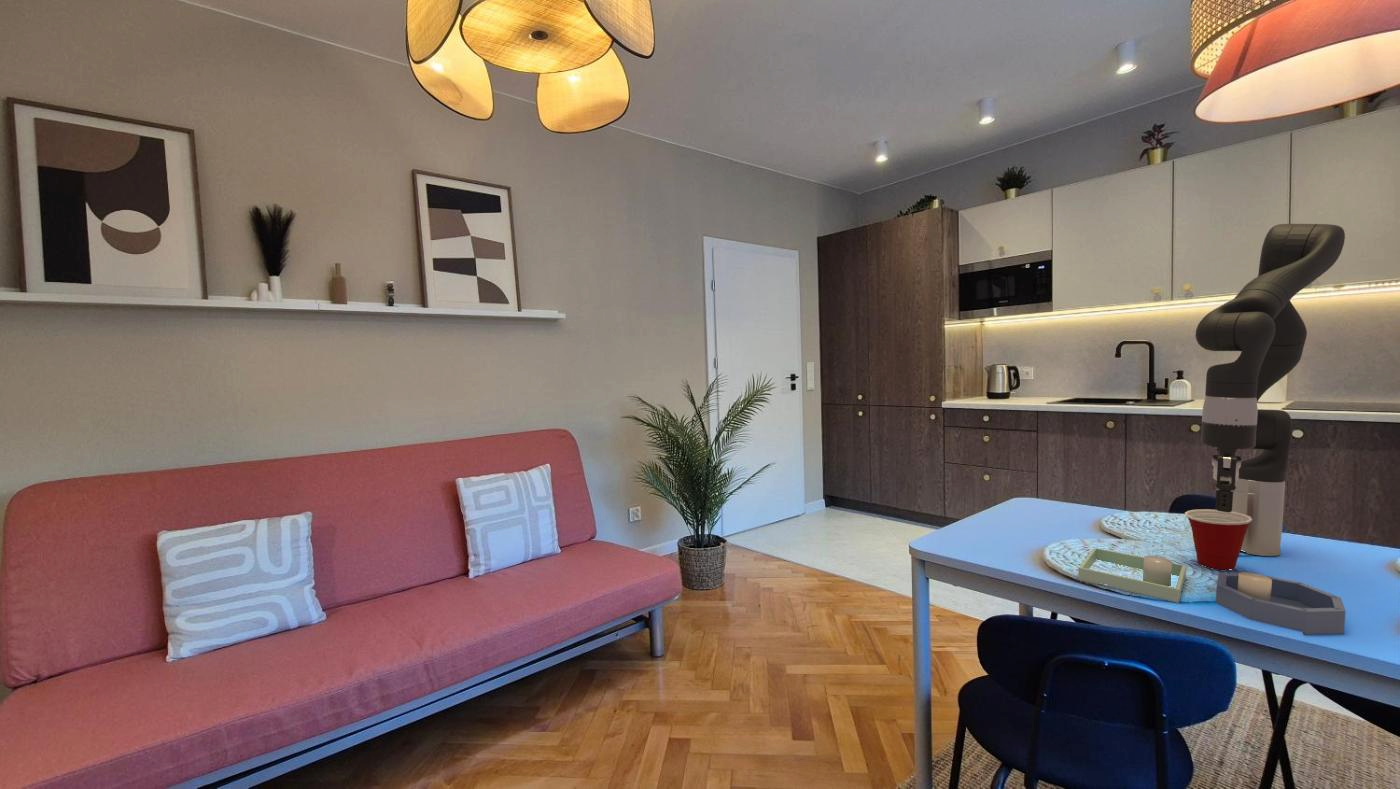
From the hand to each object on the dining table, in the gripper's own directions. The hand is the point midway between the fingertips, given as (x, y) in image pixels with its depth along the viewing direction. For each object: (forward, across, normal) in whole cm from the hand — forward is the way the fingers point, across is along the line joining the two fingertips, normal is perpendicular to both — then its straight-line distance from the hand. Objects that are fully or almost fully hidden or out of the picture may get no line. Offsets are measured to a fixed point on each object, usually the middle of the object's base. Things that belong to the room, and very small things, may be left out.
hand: (1223, 506), depth 108 cm
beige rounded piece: (+18, +1, +9) cm, 20 cm away
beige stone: (+17, 0, -5) cm, 18 cm away
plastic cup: (+18, +20, +1) cm, 27 cm away
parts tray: (+18, +1, +13) cm, 22 cm away
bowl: (+18, 0, -8) cm, 20 cm away
